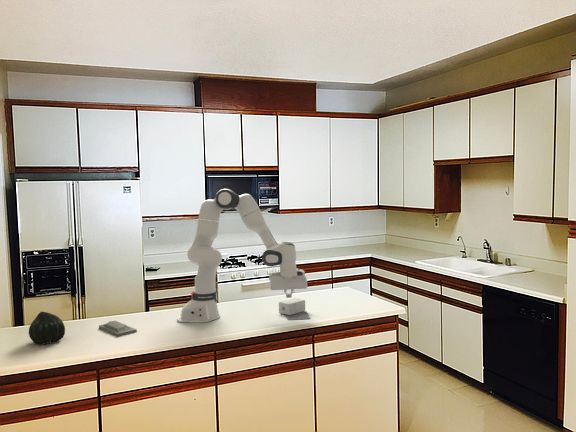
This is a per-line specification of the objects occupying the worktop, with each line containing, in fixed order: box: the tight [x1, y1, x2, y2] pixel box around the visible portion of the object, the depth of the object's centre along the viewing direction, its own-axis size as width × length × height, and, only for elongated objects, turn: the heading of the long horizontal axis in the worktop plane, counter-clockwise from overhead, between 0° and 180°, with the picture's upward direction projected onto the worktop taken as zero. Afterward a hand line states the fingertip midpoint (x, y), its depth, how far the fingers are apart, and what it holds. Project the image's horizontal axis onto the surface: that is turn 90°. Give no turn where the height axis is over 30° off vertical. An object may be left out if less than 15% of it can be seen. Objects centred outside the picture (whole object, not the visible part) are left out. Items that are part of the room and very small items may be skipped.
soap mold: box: [98, 320, 137, 338], centre depth 233 cm, size 10×20×4 cm, turn 47°
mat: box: [285, 310, 311, 321], centre depth 251 cm, size 12×13×1 cm
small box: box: [278, 297, 306, 316], centre depth 257 cm, size 8×6×13 cm
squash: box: [28, 311, 66, 346], centre depth 218 cm, size 14×15×15 cm
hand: (288, 297), depth 250 cm, fingers closed
